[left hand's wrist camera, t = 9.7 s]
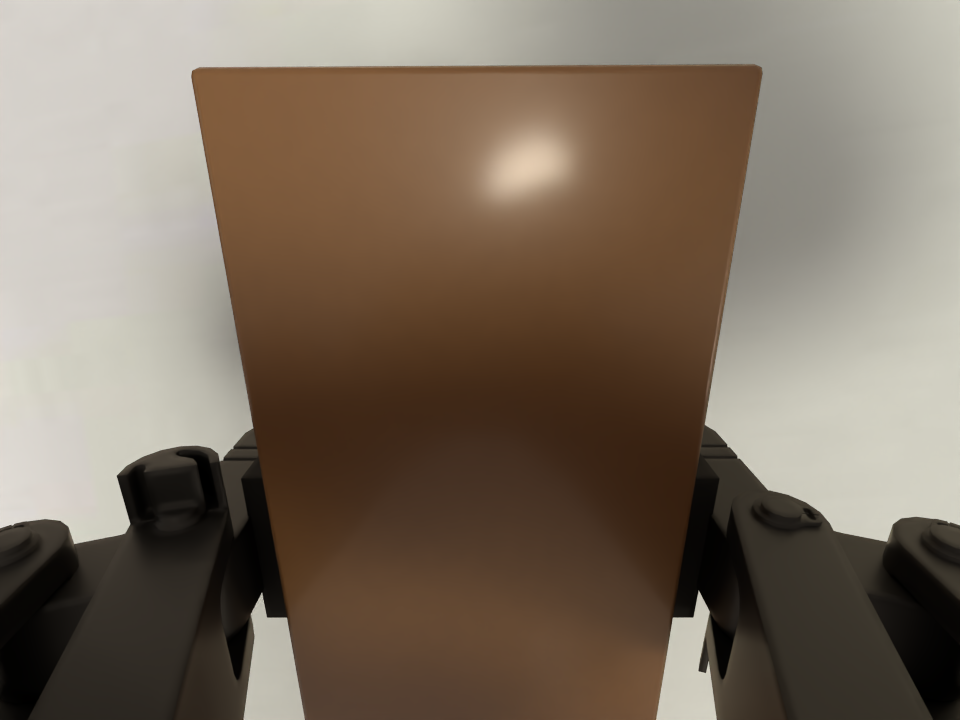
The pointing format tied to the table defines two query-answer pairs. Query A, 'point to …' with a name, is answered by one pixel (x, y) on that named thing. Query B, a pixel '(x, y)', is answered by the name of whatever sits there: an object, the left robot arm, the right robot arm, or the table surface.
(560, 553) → the post
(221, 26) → the table surface
